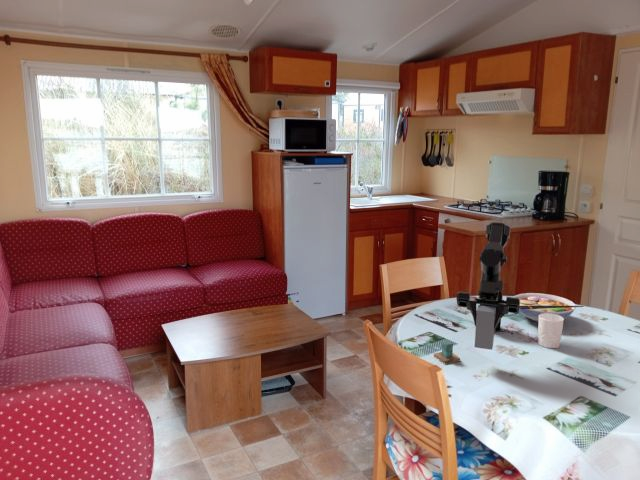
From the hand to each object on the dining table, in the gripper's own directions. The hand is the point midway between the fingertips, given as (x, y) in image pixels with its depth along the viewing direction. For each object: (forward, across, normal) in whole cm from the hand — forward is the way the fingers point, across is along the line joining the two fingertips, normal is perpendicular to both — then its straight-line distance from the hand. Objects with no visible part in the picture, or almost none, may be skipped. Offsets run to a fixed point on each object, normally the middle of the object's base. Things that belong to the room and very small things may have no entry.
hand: (484, 326), depth 155 cm
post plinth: (+8, -11, +11) cm, 18 cm away
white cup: (-9, +20, +29) cm, 36 cm away
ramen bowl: (-26, +18, +46) cm, 56 cm away
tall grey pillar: (+4, 0, +6) cm, 7 cm away
